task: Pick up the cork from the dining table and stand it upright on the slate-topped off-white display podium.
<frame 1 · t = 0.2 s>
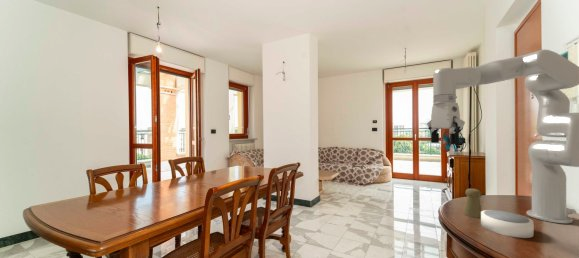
hand: (444, 143, 94), 31 cm above the table, fingers open, 9 cm apart
podium: (505, 229, 86), on the table
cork: (473, 215, 100), on the table
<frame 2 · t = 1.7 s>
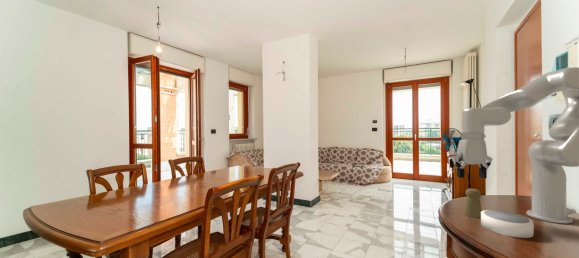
hand: (471, 177, 100), 16 cm above the table, fingers open, 9 cm apart
nothing on the table moved.
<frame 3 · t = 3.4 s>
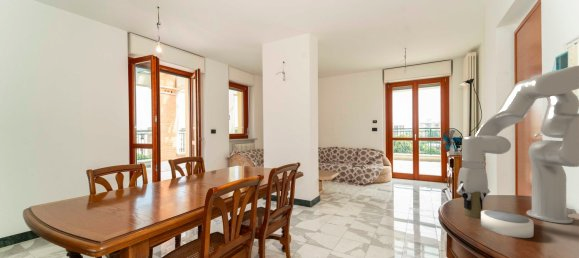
hand: (473, 208, 100), 3 cm above the table, fingers closed on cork, 4 cm apart
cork: (473, 215, 100), on the table, touching gripper
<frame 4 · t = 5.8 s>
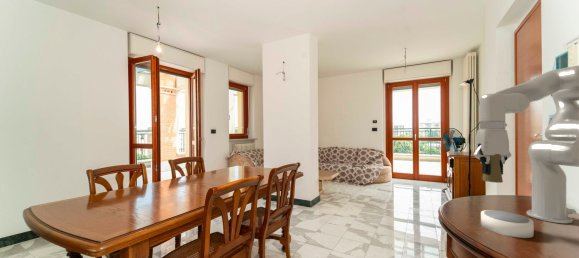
hand: (492, 173, 91), 19 cm above the table, fingers closed on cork, 4 cm apart
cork: (492, 181, 91), point 16 cm above the table, touching gripper
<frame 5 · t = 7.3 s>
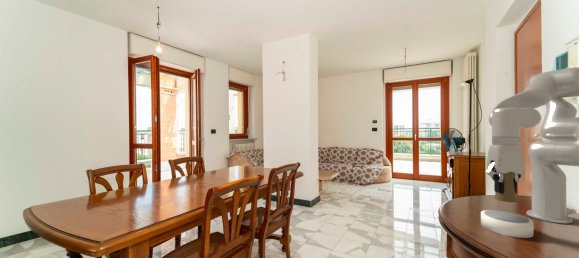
hand: (505, 192, 86), 13 cm above the table, fingers closed on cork, 4 cm apart
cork: (505, 200, 86), point 10 cm above the table, touching gripper
when the fingers open (9 cm above the table, at t = 8.5 s): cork stays where it is, resting on podium.
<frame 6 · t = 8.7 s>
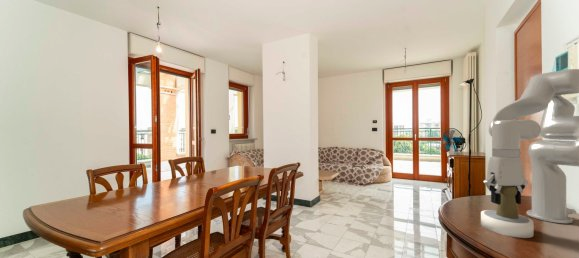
hand: (505, 202, 86), 9 cm above the table, fingers open, 7 cm apart
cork: (507, 216, 86), point 5 cm above the table, touching podium
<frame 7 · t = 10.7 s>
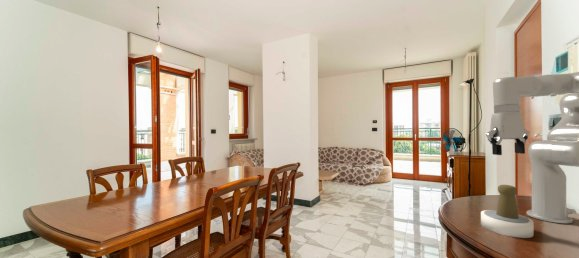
hand: (508, 154, 92), 27 cm above the table, fingers open, 9 cm apart
nothing on the table moved.
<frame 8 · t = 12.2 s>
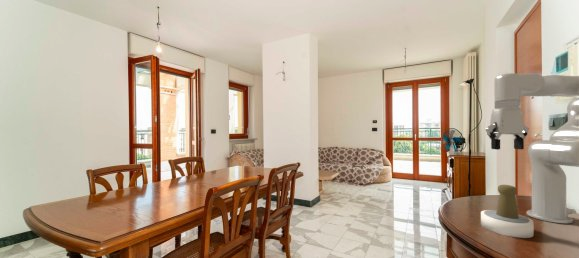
hand: (507, 149, 93), 28 cm above the table, fingers open, 9 cm apart
nothing on the table moved.
at the end: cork inside the target area on the podium (0.7 cm from its centre), point 4.6 cm above the podium's base; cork tilted 0°; the gripper is holding nothing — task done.
